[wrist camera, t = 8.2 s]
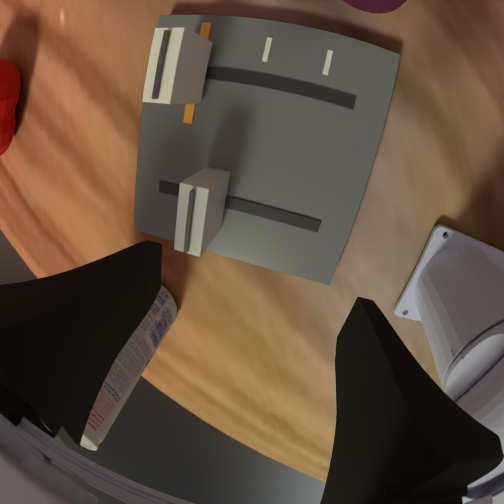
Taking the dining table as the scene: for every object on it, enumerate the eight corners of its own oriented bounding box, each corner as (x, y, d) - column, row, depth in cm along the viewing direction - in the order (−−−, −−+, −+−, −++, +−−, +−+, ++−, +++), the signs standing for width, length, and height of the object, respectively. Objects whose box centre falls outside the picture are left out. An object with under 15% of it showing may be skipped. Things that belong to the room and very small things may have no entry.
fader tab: (212, 41, 14) (181, 26, 10) (200, 103, 16) (167, 104, 12) (188, 40, 14) (152, 27, 10) (176, 100, 16) (139, 101, 12)
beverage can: (126, 265, 25) (16, 384, 12) (181, 285, 25) (84, 432, 12) (128, 310, 28) (44, 423, 15) (177, 330, 27) (103, 460, 14)
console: (395, 57, 13) (425, 40, 9) (329, 276, 21) (329, 325, 16) (168, 19, 15) (122, 0, 10) (142, 224, 22) (102, 256, 18)
